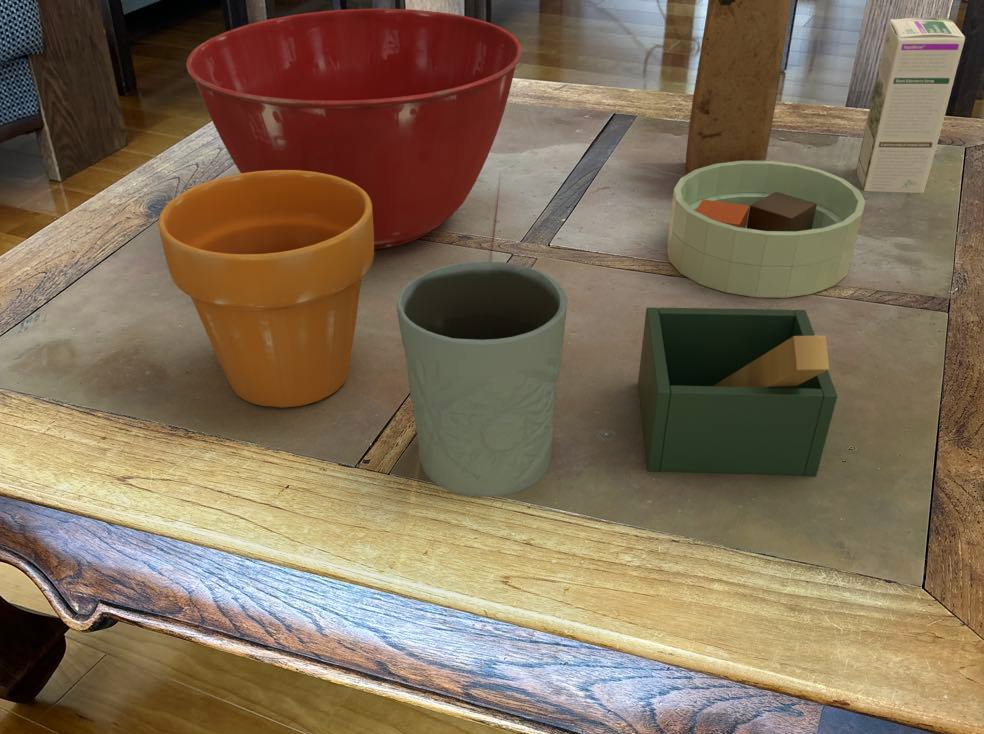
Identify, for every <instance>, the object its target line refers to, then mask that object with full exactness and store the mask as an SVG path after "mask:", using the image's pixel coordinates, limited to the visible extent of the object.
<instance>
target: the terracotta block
mask: <svg viewBox="0 0 984 734" xmlns="http://www.w3.org/2000/svg"><path fill="white" fill-rule="evenodd" d="M748 211H749V206H747V205H740V204H733V203H726V202H719V201H712V200H704V199H703V200H702V202H701V203H700V205H699V206H698V208H697V210H696V212H698V213H700V214H702V215H704V216H706V217H708V218H710V219H712V220H715V221H718V222H722V223H725V224H729V225H732V226H736V227H740V228H746V223H747V217H748Z"/></svg>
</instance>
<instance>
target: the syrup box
mask: <svg viewBox="0 0 984 734" xmlns="http://www.w3.org/2000/svg"><path fill="white" fill-rule="evenodd" d="M965 39H966V36H965V35H964V34H963V33H962V31H961V29H959V27H958V25H956V23H955V22H954V21H953V20H952V19H949V18H939V17H937V18H936V17H908V18H906V17H905V18H897V19H892V18H891V19H890V20H889V22H888V26H887V31H886V34H885V39H884V44H883V48H882V52H881V57H880V61H879V65H878V70H877V74H876V78H875V83H874V88H873V93H872V98H871V102H870V106H869V111H868V115H867V119H866V123H865V127H864V132H863V138H862V142H861V146H860V150H859V151H860V152H859V155H858V159H857V164H856V165H857V166H856V168H855V169H856V170H855V171H856V173H857V177H858V180H859V182H860V184H861V188H862V190H863V191H864V192H882V193H910V194H911V193H912V194H917V193H918V194H924V192H925V190H926V186H927V183H928V179H929V175H930V172H931V169H932V165H933V162H934V158H935V154H936V152H937V151H936V150H937V147H938V143H939V140H940V135H941V132H942V127H943V124H944V120H945V116H946V113H947V109H948V106H949V101H950V97H951V93H952V89H953V86H954V82H955V78H956V74H957V70H958V66H959V63H960V59H961V56H962V52H963V48H964V44H965V41H966V40H965Z"/></svg>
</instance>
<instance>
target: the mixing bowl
mask: <svg viewBox="0 0 984 734" xmlns="http://www.w3.org/2000/svg"><path fill="white" fill-rule="evenodd" d="M522 55H523V48H522V45H521V43H520V41H519V39H518V38H517V37H515V35H514V34H512V33H511V32H509V31H508V30H506V29H504V28H502V27H500V26H498V25H496V24H493V23H490V22H487V21H486V20H485V21H484V20H481V19H477V18H474V17H469V16H466V15H461V14H455V13H448V12H440V11H432V10H423V9H409V8H408V9H407V8H402V9H401V8H352V9H349V8H348V9H334V10H323V11H313V12H306V13H299V14H291V15H285V16H281V17H280V16H279V17H275V18H270V19H265V20H260V21H256V22H253V23H248V24H245V25H242V26H238V27H236V28H233V29H230V30H227V31H225V32H221V33H220V34H217V35H216V36H213V37H210V38H209V39H207V40H206V41H204V42H202V43H201V44H199V45H198V46H197V47H195V49H193V50H192V51H191V52H190V53H189V55H188V56H187V59H186V65H185V66H186V69H187V72H188V74H189V76H190V77H191V78H192V79H193V80H194V81H195V84H196V86H197V89H198V91H199V93H200V96H201V98H202V101H203V103H204V106H205V107H206V110H207V112H208V115H209V116H210V119H211V121H212V123H213V126H214V128H215V130H216V132H217V133H218V136H219V138H220V140H221V142H222V143H223V146H224V147H225V149H226V151H227V152H228V155H229V156H230V158H231V160H232V161H233V163H234V165H235V166H236V168H237V170H238V171H239V174H242V173H248V172H256V171H269V170H299V171H310V172H318V173H323V174H328V175H332V176H336V177H339V178H342V179H345V180H347V181H350V182H352V183H354V184H356V185H357V186H359V187H360V188H362V189H363V190H364V191H365V192H366V193H367V195H368V196H369V198H370V200H371V203H372V212H373V229H374V250H378V249H379V250H381V249H385V248H391V247H398V246H401V245H405V244H408V243H412V242H413V241H416V240H418V239H420V238H422V237H423V236H426V235H427V234H429V233H430V232H431V231H432V230H434V229H435V228H437V227H439V226H440V225H442V224H443V223H444V222H446V221H448V220H449V219H450V218H451V217H452V216H454V214H455V213H456V212H457V211H458V209H459V208H460V207H461V206H462V205H463V203H465V200H466V199H467V197H468V196H469V194H470V193H471V191H472V189H473V187H474V186H475V184H476V182H477V180H478V178H479V176H480V174H481V171H482V170H483V167H484V165H485V163H486V161H487V159H488V156H489V154H490V152H491V150H492V147H493V144H494V141H495V140H496V137H497V134H498V132H499V129H500V125H501V122H502V120H503V116H504V113H505V109H506V106H507V102H508V100H509V99H508V98H509V95H510V91H511V87H512V84H513V79H514V74H515V70H516V66H517V65H518V64H519V62H520V60H521V58H522Z"/></svg>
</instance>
